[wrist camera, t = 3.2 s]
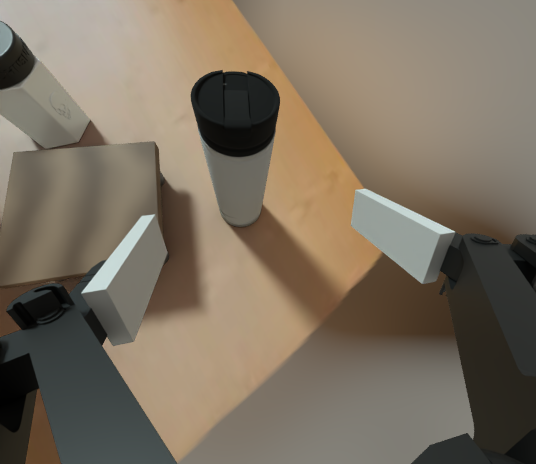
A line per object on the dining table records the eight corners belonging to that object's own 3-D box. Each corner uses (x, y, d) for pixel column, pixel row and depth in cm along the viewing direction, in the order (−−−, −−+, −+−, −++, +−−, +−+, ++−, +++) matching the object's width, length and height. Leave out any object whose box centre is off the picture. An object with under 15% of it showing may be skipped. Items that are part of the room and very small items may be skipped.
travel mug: (220, 230, 32) (185, 129, 13) (219, 190, 34) (188, 51, 15) (262, 228, 33) (287, 130, 14) (259, 189, 35) (277, 56, 16)
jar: (74, 154, 33) (-14, 79, 22) (19, 144, 33) (-100, 61, 22) (98, 110, 36) (31, 22, 25) (47, 99, 36) (-45, 6, 24)
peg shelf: (43, 290, 28) (-10, 287, 22) (54, 178, 32) (13, 152, 26) (175, 268, 30) (159, 261, 24) (169, 167, 34) (154, 141, 29)
